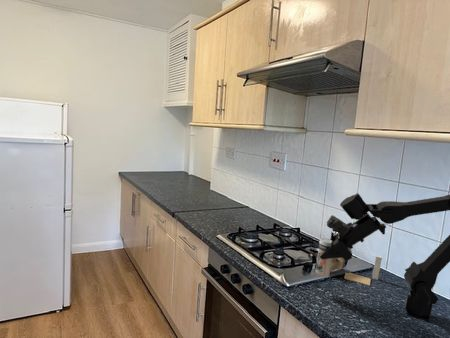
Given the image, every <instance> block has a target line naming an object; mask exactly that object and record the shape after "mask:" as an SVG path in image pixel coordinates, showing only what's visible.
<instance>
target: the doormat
mask: <svg viewBox="0 0 450 338" xmlns="http://www.w3.org/2000/svg"><path fill="white" fill-rule="evenodd" d="M344 279H345V280H348V281H350V282H354V283H358V284H361V285H364V286H368V287H370V286H371V279H372V278H369V277H366V276H363V275H360V274H356V273H353V272H349V273H346V272H345V274H344Z"/></svg>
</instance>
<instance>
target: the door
mask: <svg viewBox="0 0 450 338" xmlns="http://www.w3.org/2000/svg"><path fill="white" fill-rule="evenodd" d="M343 259H344V258H332V261H331V268H330V271H331V270H335V269H340V268H342V265H343ZM340 270H341V269H340ZM331 272H332V271H331Z"/></svg>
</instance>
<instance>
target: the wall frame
mask: <svg viewBox="0 0 450 338" xmlns="http://www.w3.org/2000/svg"><path fill="white" fill-rule="evenodd" d="M382 260H383V257H382V256H380V255H375V260H374V266H373V270H372V277H371V279H373V280H377V281H378V280H379V276H380V275H379V274H380V270H381V265H382ZM345 262H346V261H345V259H343V265H342V268H345Z"/></svg>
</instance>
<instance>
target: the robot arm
mask: <svg viewBox="0 0 450 338" xmlns="http://www.w3.org/2000/svg"><path fill="white" fill-rule="evenodd" d="M340 207H341V209H343V211H344V212H345V213H346V214H347V216H348V217H349V218H350V219H351V220H356V221H354V222H347V223H345V222H344V221H343V220H341V219H340V218H338V217H336V216H335V215H330V217H329V218H328V220H327V221H326V226H327V228H329V229H332V231H331V232H330V239H329V240H332V242H331V246H330V247H329V248H328V249H327V250H326V251H325V252H324V253H323V254H322V255H321V256H320V258H321V259H330V258H344V259H345V262H348V261H349V260H352V257H353V251H352V249H353V248H354V246H355V245H356V244H358V243H359V242H360V243H363V242H365V239H366V238H368V237H369V236H370V235H373V234H374V233H375V232H377V231H379V232H380V233H381V234H382V236H383V235H386V228H387V225H388V224H389V225H391V224H394V223H398V222H401V221H404V220H405V219H407V218H409V217H414V216H415V217H416V216H420V215H427V214H428V215H429V214H434V213H441V212H447V211H450V194H446V195H443V196H437V197H430V198H423V199H418V200H413V201H412V200H411V201H405V202H403V201H388V200H387V201H386V200H385V201H380V202H378V203H366V202H365V201H364V199H363V197H362V196H361V195H360V194H359V193H358V192H357V193H355V194H352V195H350V196H349V197H348V196H347V197H346V198H345V199H343V200H342V201H341V203H340ZM369 213H370V214H371V215H372V216H371V215H370V214H369ZM379 220H380V221H381V222H382V223H381V222H380V221H379ZM449 263H450V234H449V235H448V236H447V237H446V238H445V239H444V240H443V241H442V242H441V243H440V244H439V245H438V246H437V247H436V248H435V250H434V251H432V253H431V254H430V255H429V256H428V257H427V258H426V259H425V260H424V261H422V262H420V263H416V262H415V261H413V262H412V263H411V264H410V265H409V267H408V268H405V269H404V271H405V272H404V275H403V276H404V281H405V283H406V284H407V286H408V288H409V289H410V290H409V292H408V293H409V294H406V296H405V302H404V309H405V311H406V315H408V316H411V317H414V318H417V319H420V320H424V321H426V322H430V323H431V321H432V319H431V314H432V310H433V306H434V305H436V303H437V302H438V300H439V298H438V297H437V295H436V294H435V293H434V291H433V290H432V289H433V288H434V286H435V285H436V282H437V279H438V275H439V273H441V271H442V270H443V269H444V268H445V267H446V266H447V265H448V264H449Z"/></svg>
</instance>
